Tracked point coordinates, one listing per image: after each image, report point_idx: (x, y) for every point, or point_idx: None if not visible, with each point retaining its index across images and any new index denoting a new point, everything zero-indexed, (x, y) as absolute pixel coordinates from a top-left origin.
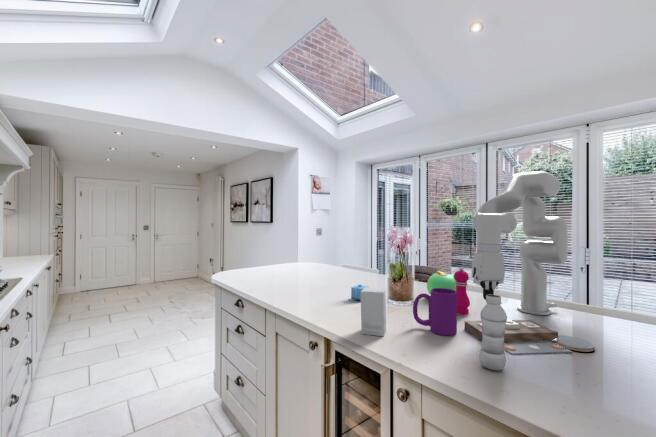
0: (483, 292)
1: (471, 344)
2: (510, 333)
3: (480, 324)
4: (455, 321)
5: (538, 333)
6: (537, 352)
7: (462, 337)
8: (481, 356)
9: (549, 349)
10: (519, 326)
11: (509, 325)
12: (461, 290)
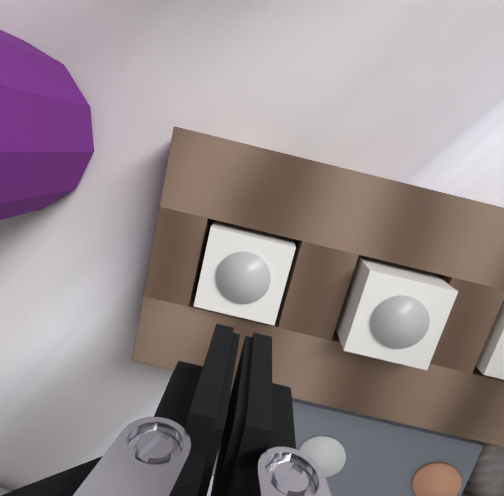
0: (161, 404)
1: (68, 327)
2: None
3: (211, 246)
4: (11, 210)
5: (451, 432)
6: None
7: (81, 240)
8: None
9: (370, 487)
10: (454, 332)
11: (358, 349)
12: None
